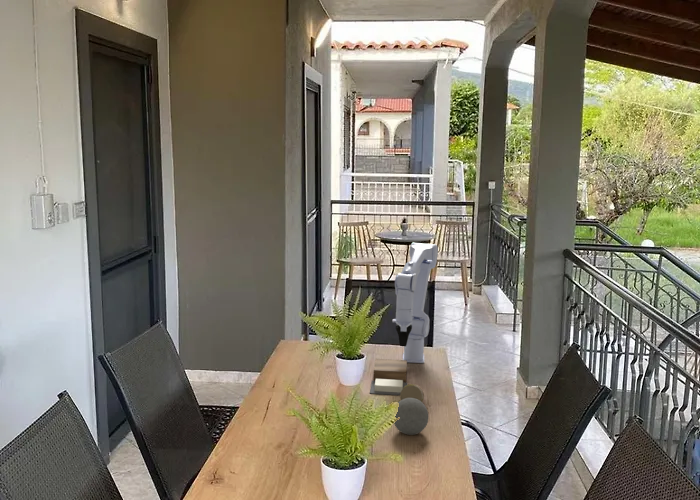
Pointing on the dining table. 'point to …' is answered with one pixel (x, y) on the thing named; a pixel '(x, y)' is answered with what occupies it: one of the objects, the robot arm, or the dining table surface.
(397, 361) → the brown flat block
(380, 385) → the cream rectangular block
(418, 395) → the tan short cylinder
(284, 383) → the dining table surface
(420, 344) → the robot arm
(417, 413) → the decorative ball
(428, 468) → the dining table surface
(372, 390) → the mat
